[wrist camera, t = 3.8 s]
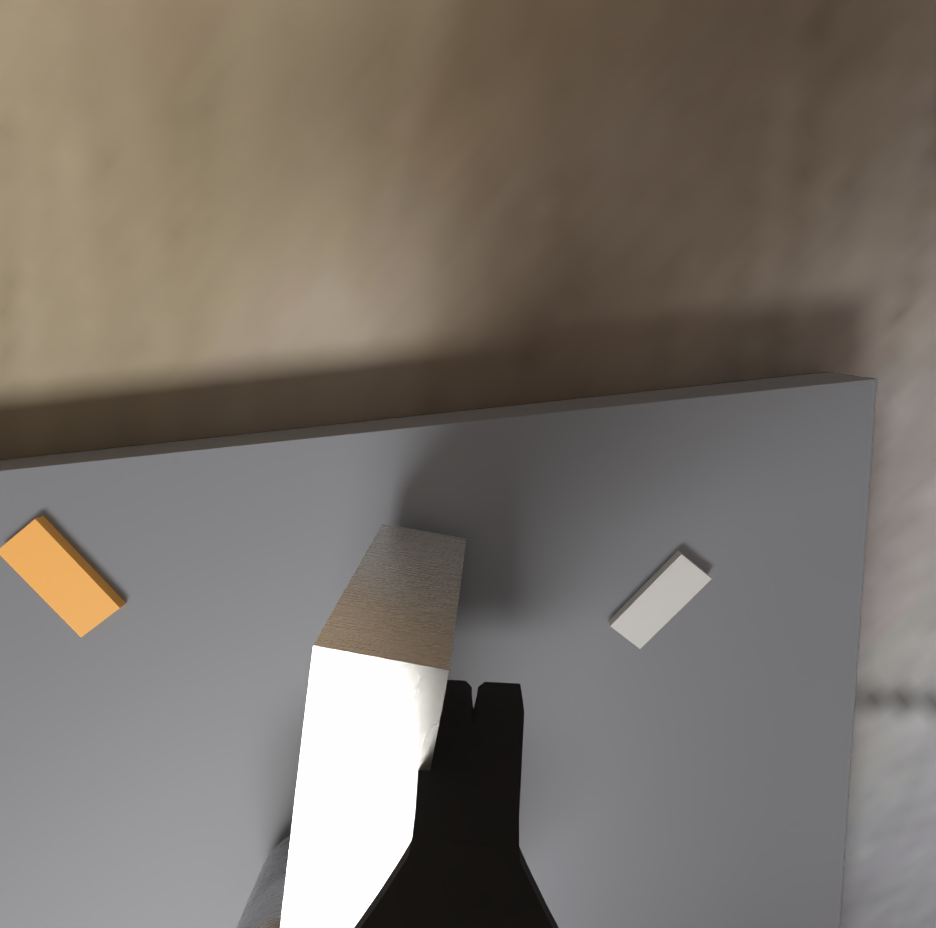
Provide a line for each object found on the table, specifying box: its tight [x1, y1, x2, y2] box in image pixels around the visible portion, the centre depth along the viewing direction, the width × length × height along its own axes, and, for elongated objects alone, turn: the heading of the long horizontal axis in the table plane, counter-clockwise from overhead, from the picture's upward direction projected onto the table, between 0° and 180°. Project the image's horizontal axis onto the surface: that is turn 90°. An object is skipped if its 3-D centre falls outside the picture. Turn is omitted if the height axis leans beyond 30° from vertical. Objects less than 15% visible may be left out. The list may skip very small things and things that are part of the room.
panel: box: [0, 372, 877, 928], centre depth 14 cm, size 22×22×2 cm
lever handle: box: [236, 524, 466, 928], centre depth 10 cm, size 12×5×4 cm, turn 170°
